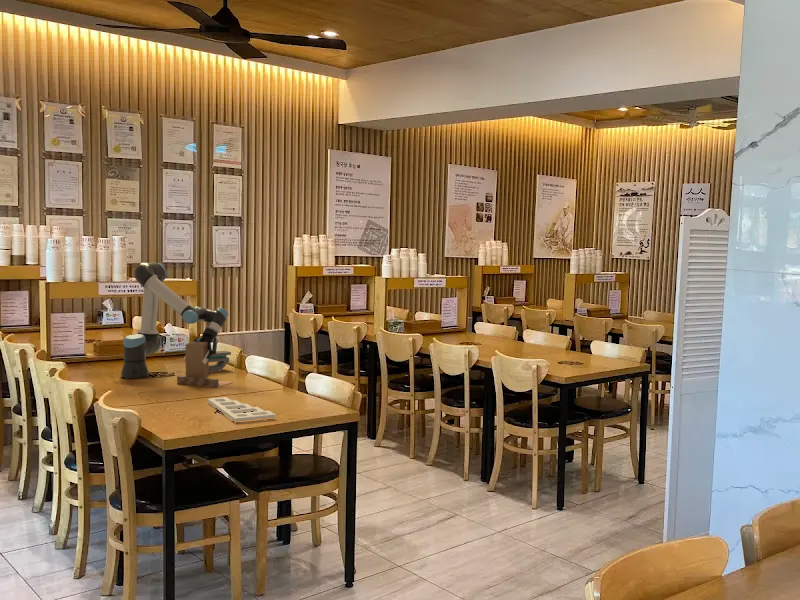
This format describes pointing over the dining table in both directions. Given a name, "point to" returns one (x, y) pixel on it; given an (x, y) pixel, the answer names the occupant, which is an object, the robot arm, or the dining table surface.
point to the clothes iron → (219, 360)
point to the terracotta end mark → (223, 383)
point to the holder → (239, 410)
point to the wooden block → (196, 359)
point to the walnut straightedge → (197, 381)
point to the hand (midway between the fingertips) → (194, 362)
